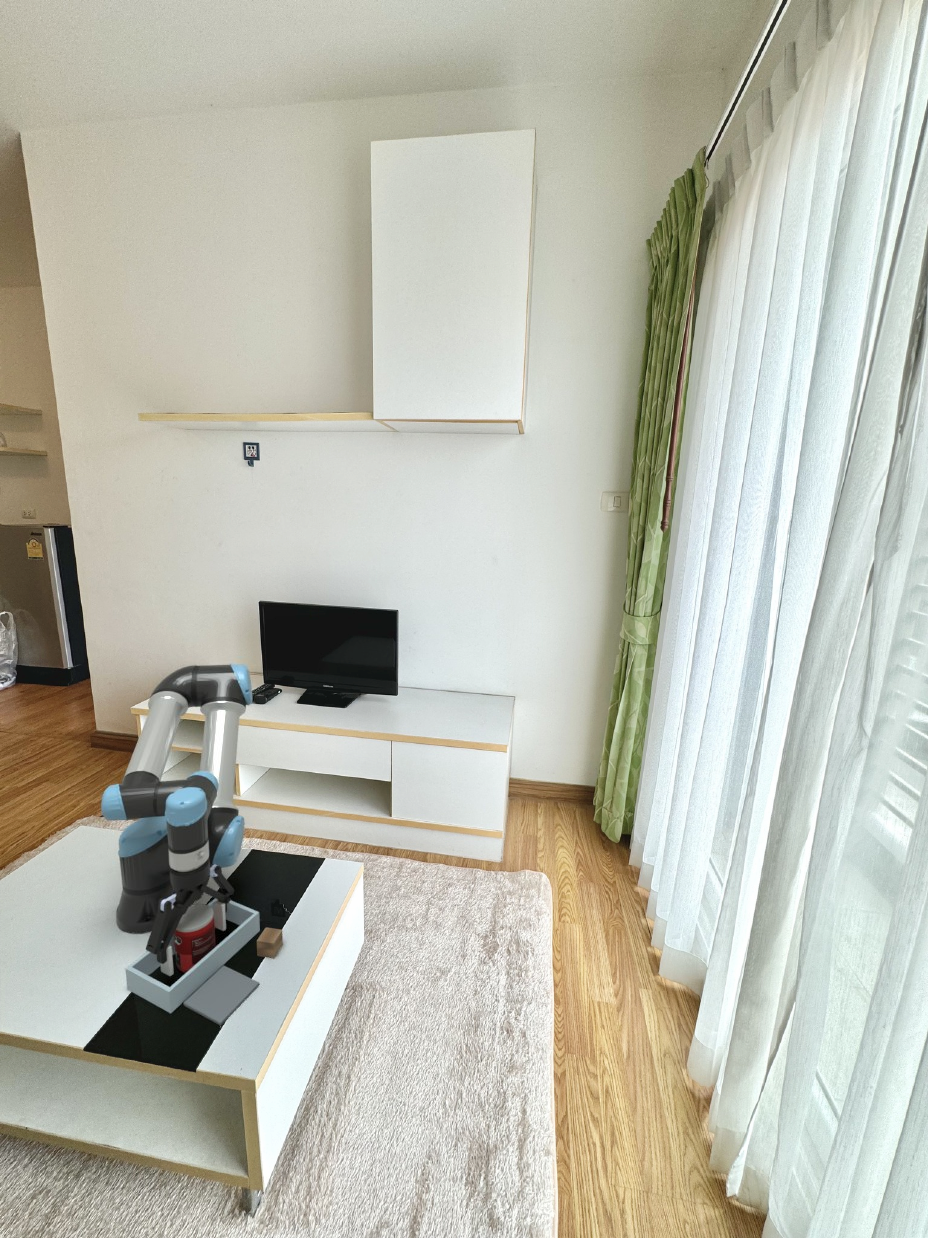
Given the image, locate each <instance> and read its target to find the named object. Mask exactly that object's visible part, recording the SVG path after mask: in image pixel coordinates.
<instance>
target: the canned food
mask: <svg viewBox="0 0 928 1238" xmlns="http://www.w3.org/2000/svg"><path fill="white" fill-rule="evenodd" d="M215 929H216V928H215V922H214V913H213V909H212V908H211V907H210V906H208V904H205V903H198V904H197V903H196V904H192V905H191V906H190V907H188V909H187V911H186V913H185V914H183V915H182V918H181V920H180V922H179V924H178V926H177V928H176V930H175V932H174V944H175V954H174V955H175V965H176V967H177V969H178V970H179V972H182V973H184V974H186V973H187V972H188V971H189V970H190V969H191V968H192V967H193V966H195V965H196V964H197V963H198V962H199V961H200V960H201V959H203V958H204V957H205V956H206V955H207V954H208V953H209V952H211V951H212V950H213V949H214V948H215V947H216V934H215V933H216V932H215V931H216V930H215Z"/></svg>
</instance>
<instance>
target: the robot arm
mask: <svg viewBox="0 0 928 1238" xmlns="http://www.w3.org/2000/svg"><path fill="white" fill-rule="evenodd" d="M251 681H252V680H251V675H250V671H249V668H248V667H247V666H246V665H245V664H232V663H230V664H211V665H210V664H209V665H207V664H206V665H196V664H195V665H187V666H183V667H181V668H179V669H177V670H174V671H173V672H171V673H169V674H168V675H167V676H166V677H164V679H162V680H161V681H160V682H159V683H158V684H157V685H156V687H155V688H154V689H153V690H152V692H151V695H150V697H149V700H148V702H147V706H148V709H149V711H148V713H147V717H146V719H145V722H144V724H143V726H142V729H141V733H140V735H139V737H138V740H137V743H136V744H135V748H134V750H133V753H132V755H131V757H130V761H129V763H128V765H127V768H126V771H125V773H124V776H123V778H122V781H121V783H116V784H111V785H108V787H107V788H106V789H105V790H104V792H103V794H102V798H101V803H100V811H101V813H102V817H103V818H104V819H105V820H106V821H129V820H136V821H134V822H131V824H129V825H128V826H127V827H126V828H125V829H124V830H123V831H122V832H121V834H120V835H119V838H118V852H117V854H118V856H119V865H120V875H121V885H122V891H121V894H120V895H121V896H120V898H119V902H118V905H117V908H116V911H115V915H116V916H115V917H116V925H117V927H118V928H119V929H120V930H121V931H123V932H125V933H130V934H144V933H149V932H150V933H149V937H148V941H147V944H146V946H145V950H146V952H147V951H149V952H151V953H153V954H157V961H158V962H159V963H160V964H161V966H160V972H161V973H163V974H165V975H166V976H168V977H171V976H172V975H174V962H173V961H174V960H173V956H172V946H170V945H169V943H170V941H171V939H172V937H173V934H174V932H175V930H176V928H177V926H178V924H179V922H180V920H181V918H182V915H183V914H185V913H186V911H187V909H188V907H190V906H191V905H194V903H195V902H197V901H200V899H202V898H203V895H204V894H206V895H208V896H210V897H212V898H214V899H215V898H216V899H218V901H217V900H216V901H214V902H213V904H214V927H215V929H218V930H220V931H222V932H224V931H226V929H227V923H226V922H227V921H226V916H225V913H226V912H227V903H229V902H230V900H231V901H232V898H231V897H229V896H230V895H231V896H232V895H233V894H234V893H235V889H234V887H233V886H232V885H231V884H230V882H229V880H227V878H226V877H225V875H224V874H223V871H222V870H223V869H224V868H229V867H232V866H233V865H234V864H235V863H236V862H237V861H238V858H239V855H240V853H241V850H242V845H243V839H244V832H245V823H246V821H245V818H244V816H242V815H240V814H239V808H238V807H236V805H235V804H234V794H235V793H234V792H235V780H236V766H237V765H236V764H237V755H238V754H237V753H238V738H239V728H240V727H239V725H240V717H241V716H242V715H244V714H245V713H246V709H247V706H250V705H252V704H253V690H252V682H251ZM194 707H195V708H200V709H199V710H200V711H199V712H200V713H202V715H203V716H205V718H204V726H203V727H204V728H203V735H202V748H201V756H200V763H199V764H200V766H199V771H195V772H192V773H191V774H190V775H189V776H188V777H186V778H185V779H175V780H174V779H173V780H162V777H163V775H164V771H165V767H166V766H167V762H168V758H169V755H170V752H171V749H172V746H173V744H174V740H175V737H176V733H177V731H178V728H179V724H180V721H181V718H182V717H183V716H185V715H186V713H187V712H188V710H189V708H194ZM210 879H213V881H214V882H215V883H216V885H217V886H218V887H219V888H220V890H221V892H219V891H218V890H215V889H213V888H211V887H210V886H208V884H209V882H210ZM162 941H163V942H162Z"/></svg>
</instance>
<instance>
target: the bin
mask: <svg viewBox="0 0 928 1238" xmlns="http://www.w3.org/2000/svg"><path fill="white" fill-rule="evenodd" d="M216 900H217V901H218V899H216V898H214V899H213V900H211V901H210V902H209V903H208V904H207V905H208V906H210V907H211V908H212V909H213V913H214V904H213V902H214V901H216ZM225 916H226V920H227V921H229V922H231V923H233V924H235V925H238V927H237V928H236V929H234V930H233V931H232V932H231V933H230V934H229V935H228V936H226V937H225V938H224V939H223V940H222V941H220V942H219V944H217V945H215V948H214V949H213V950H212V951H211V952H209V953H208V954H207V955H206V956H205V957H204V958H203V959H201V960H200V961H199V962H198V963H197V964H196V965H195V966H193V967H192V968H191V969H190V970H189V971H188V972H187V973H184V974H183V975H182V976H181V977H180V978H179V979H177V981H175V982H174V983H173V984H171V986H169V985H166V984H164V983H163V982H161V981H159V980H157V979H155V978H153V977H152V976H150V975H151V974H152V973H153V972H154V971H156V970H157V969H159V967H161V964H160V963H159V962H158V961H157V954H153V953H151V952H149V951H147V950H146V951H145V953H144V954H142V955H140V956H139V957H138V958H137V959H135V960H134V961H133V962H132V963H130V964H129V965H128V966H126V968H124V969H125V979H126V989H127V990H128V991H130V992H131V993H133V994H134V995H137V996H138V997H140V998H142V999H144V1000H146V1001H147V1002H149V1003H150V1004H152V1005H155V1006H156V1007H158V1008H160V1009H162V1010H163V1011H165V1012H167V1013H168V1014H172V1013H173V1012H174V1011H175V1010H176V1009H177V1008H179V1006H181V1005H182V1003H184V1002H185V1001H186V1000H187V999H188V998H189V997H190V996H191V995H192V994H193V993H194V992H196V991H197V990H198V989H199V988H200V987H201V986H202V985H203V984H204V983H205V982H206V981H207V980H208V979H210V978H211V977H212V976H213V975H214V974H215V973H216V972H217V971H218V970H219V969H220V968H221V967H222V966H223V965H224V966H225V964H226V963H227V962H228V961H229V960H230V959H231V958H232V957H233V956H235V955H236V954H237V953H238V952H239V951H240V950H241V949H242V948H243V947H244V946H246V944H247V943H248V942H249V941H251V939H253V937H255V936H256V935H257V934H258V933H260V931H261V929H260V926H261V925H260V912H259V911H257V910H256V909H255V910H254V909H253V908H250V907H247V906H245V905H243V904H241V903H239V902H238V903H237V902H236V901H233V900H232V899H231V900H230V902H229V903H227V912H226V913H225ZM162 942H163V941H162ZM169 945H170V946H172V957H173V956H174V955H175V944H174V934H173V937H172V939H171V941H170V943H169Z"/></svg>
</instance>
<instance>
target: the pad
mask: <svg viewBox="0 0 928 1238" xmlns="http://www.w3.org/2000/svg"><path fill="white" fill-rule="evenodd" d="M258 987H260V982H259V981H256V980H254V979H252V978H250V977H248V976H247V975H244V974H242V973H241V972H239V971H236V970H234V969H232V968H230V967H227V966H226V965H225V964H224V965H222V966H221V967H220V968H219V969H218V970H217V971H216V972H215V973H214V974H213V975H212V976H211V977H210V978H208V979H207V980H206V981H205V982H204V983H203V984H202V985H201V986H200V987H199V988H198V989H197V990H196V991H194V992H193V993H192V994H191V995H190V996H189V997H188V998H187V999H186V1000H185V1001H184V1002H183V1006H184V1007H186V1008H188V1009H189V1010H191V1011H192V1012H195V1013H196V1014H199V1015H201V1016H203V1017H204V1018H206V1019H208V1020H210V1021H212V1022H213V1023H215V1024H217V1025H219V1026H222V1025H223V1024H224V1023H225V1022H226V1021H227V1020H228V1019H229V1018H230V1017H231V1015H232V1014H233V1013H235V1011H236V1010H237V1009H238V1008H240V1006H242V1004H243V1003H244V1002H245V1001H246V1000H247V999H248V998H249V997H250V996H251V995H252V994H253V992H254V991H255V990H256V989H257V988H258Z"/></svg>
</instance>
